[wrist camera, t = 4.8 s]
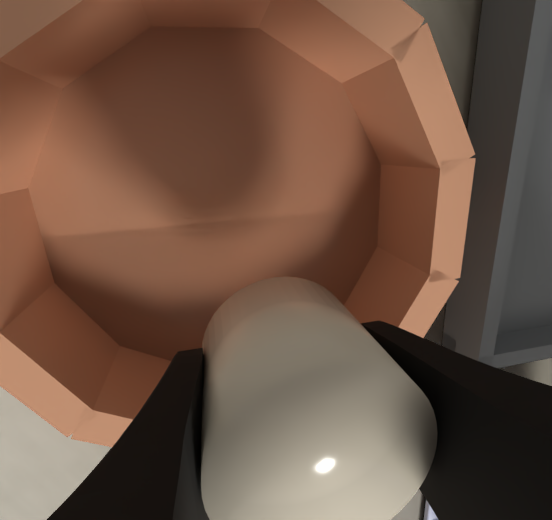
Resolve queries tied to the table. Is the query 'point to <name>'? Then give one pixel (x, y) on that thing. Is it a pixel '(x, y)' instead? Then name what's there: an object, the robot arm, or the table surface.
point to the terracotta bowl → (211, 181)
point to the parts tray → (508, 193)
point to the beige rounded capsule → (306, 412)
